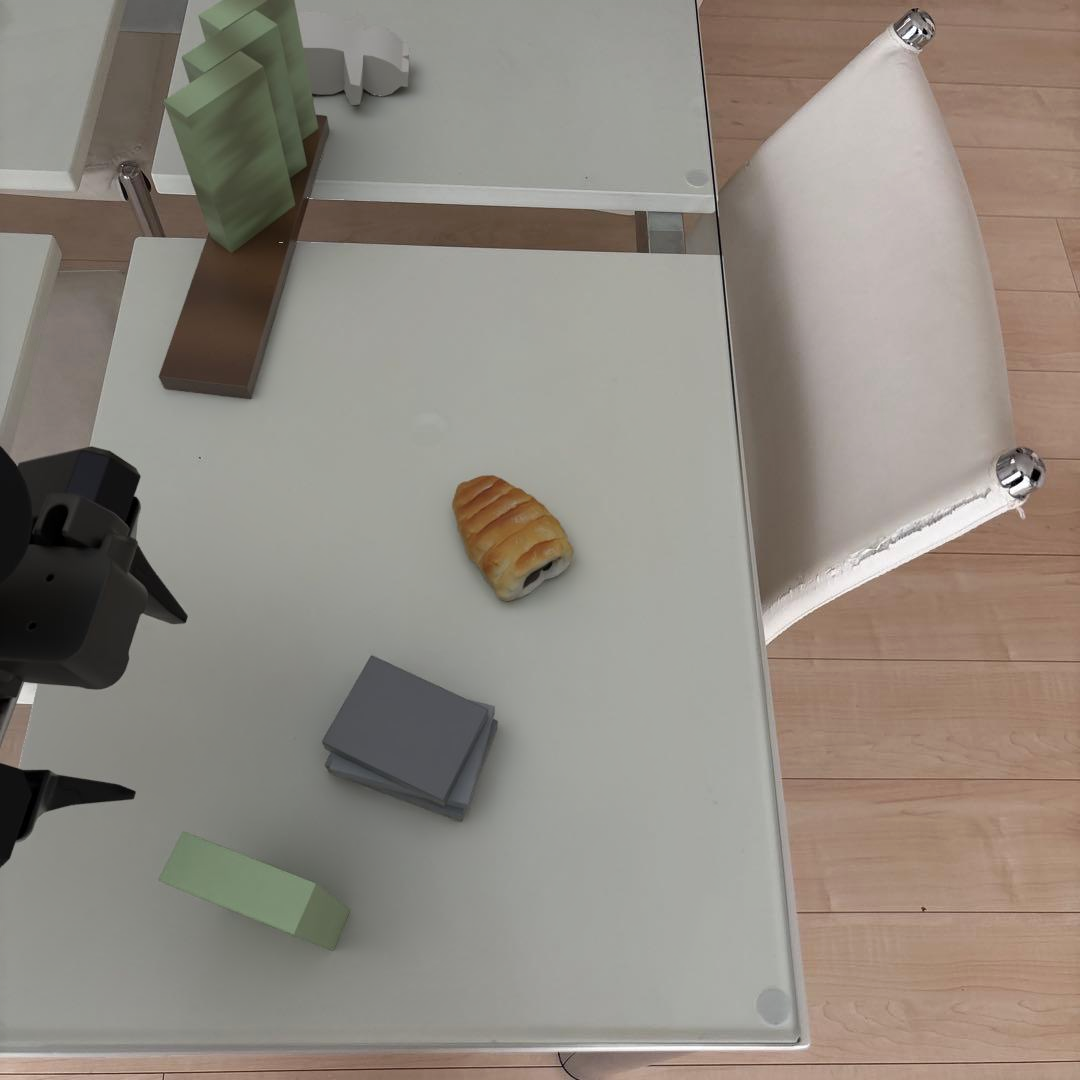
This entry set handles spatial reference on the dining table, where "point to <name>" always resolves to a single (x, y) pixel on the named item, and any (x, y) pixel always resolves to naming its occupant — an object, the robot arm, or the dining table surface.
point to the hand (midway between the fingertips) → (156, 704)
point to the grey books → (410, 739)
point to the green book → (255, 890)
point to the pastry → (509, 536)
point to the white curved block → (352, 56)
